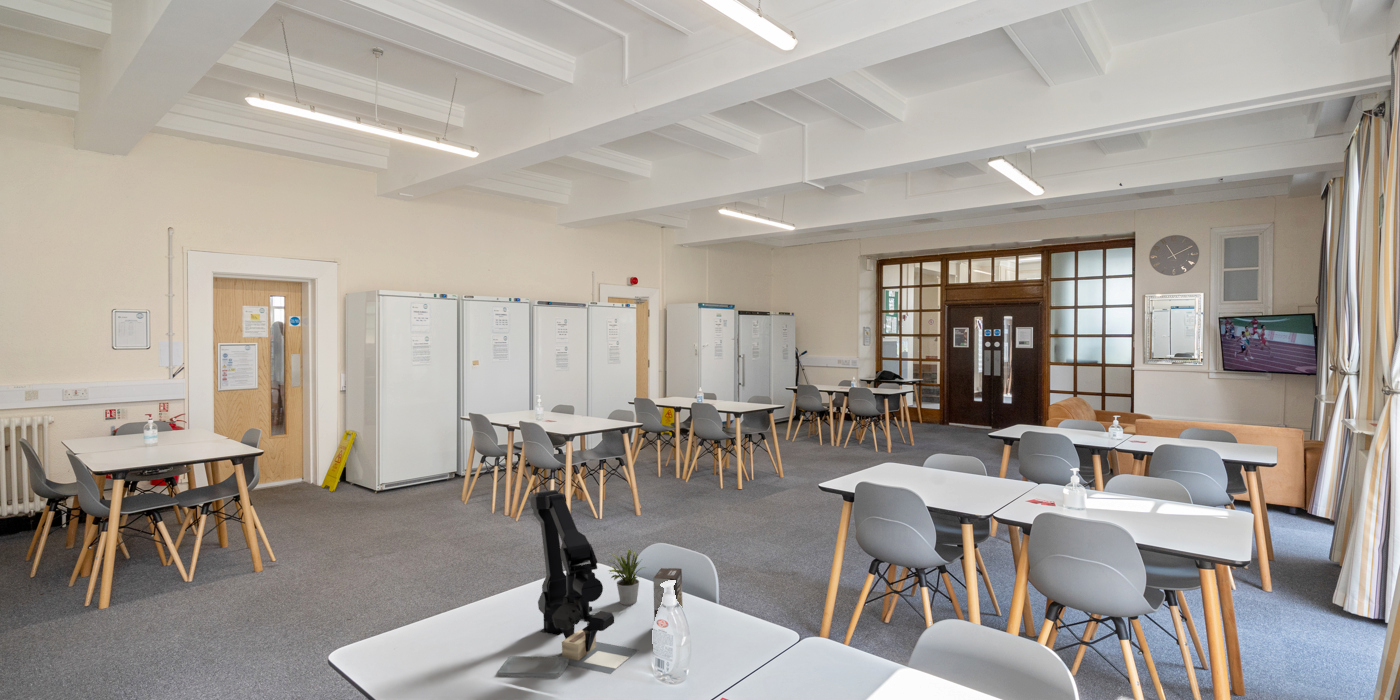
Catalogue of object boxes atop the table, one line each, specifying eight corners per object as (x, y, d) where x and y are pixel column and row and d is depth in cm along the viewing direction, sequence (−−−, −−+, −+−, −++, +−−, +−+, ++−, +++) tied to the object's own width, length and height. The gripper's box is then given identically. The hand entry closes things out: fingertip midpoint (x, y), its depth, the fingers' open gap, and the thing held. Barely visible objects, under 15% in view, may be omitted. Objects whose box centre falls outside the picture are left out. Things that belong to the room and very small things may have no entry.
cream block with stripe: (578, 660, 172) (578, 644, 172) (562, 657, 174) (561, 641, 174) (596, 647, 179) (595, 631, 179) (580, 644, 181) (580, 629, 181)
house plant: (605, 593, 220) (603, 543, 219) (647, 590, 221) (646, 541, 221) (603, 610, 205) (602, 557, 205) (649, 607, 207) (647, 554, 207)
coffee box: (676, 637, 185) (675, 578, 185) (654, 636, 186) (652, 577, 186) (684, 624, 194) (682, 567, 194) (662, 622, 195) (660, 567, 195)
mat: (550, 663, 172) (550, 661, 172) (582, 640, 184) (582, 638, 184) (610, 675, 164) (610, 673, 164) (639, 651, 177) (639, 649, 177)
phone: (509, 660, 173) (509, 655, 173) (570, 661, 171) (569, 656, 171) (496, 677, 165) (496, 672, 165) (559, 678, 163) (559, 673, 163)
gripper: (529, 595, 173) (530, 656, 173) (590, 605, 165) (591, 669, 165) (555, 581, 183) (557, 639, 183) (614, 590, 175) (616, 650, 175)
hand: (579, 649), depth 176 cm, fingers closed on cream block with stripe, 5 cm apart
